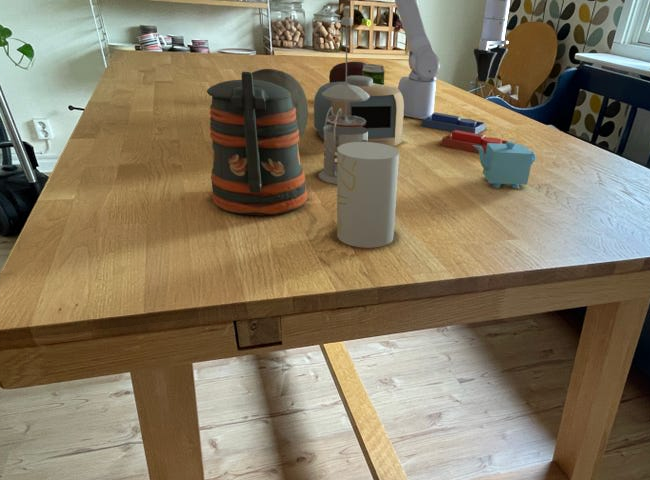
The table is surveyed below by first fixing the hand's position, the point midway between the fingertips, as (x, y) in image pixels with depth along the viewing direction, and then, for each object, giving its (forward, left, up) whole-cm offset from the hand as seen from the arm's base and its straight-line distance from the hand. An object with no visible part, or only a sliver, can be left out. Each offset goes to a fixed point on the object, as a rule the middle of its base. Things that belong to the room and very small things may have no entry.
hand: (486, 79), depth 144 cm
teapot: (+21, -52, -10) cm, 57 cm away
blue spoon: (-2, -16, -9) cm, 18 cm away
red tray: (+9, -30, -9) cm, 33 cm away
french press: (-4, -67, -10) cm, 68 cm away
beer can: (-22, -22, -10) cm, 33 cm away
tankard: (-7, -87, -10) cm, 88 cm away
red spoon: (+9, -30, -9) cm, 33 cm away
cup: (+12, -88, -10) cm, 89 cm away
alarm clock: (-16, -40, -10) cm, 44 cm away
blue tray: (-2, -16, -9) cm, 19 cm away
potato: (-35, -9, -10) cm, 37 cm away
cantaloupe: (-22, -63, -10) cm, 67 cm away
